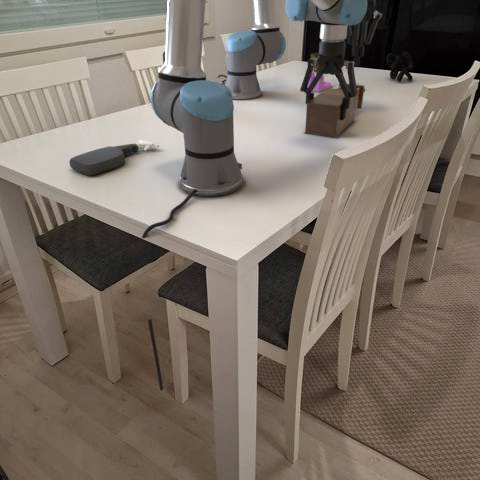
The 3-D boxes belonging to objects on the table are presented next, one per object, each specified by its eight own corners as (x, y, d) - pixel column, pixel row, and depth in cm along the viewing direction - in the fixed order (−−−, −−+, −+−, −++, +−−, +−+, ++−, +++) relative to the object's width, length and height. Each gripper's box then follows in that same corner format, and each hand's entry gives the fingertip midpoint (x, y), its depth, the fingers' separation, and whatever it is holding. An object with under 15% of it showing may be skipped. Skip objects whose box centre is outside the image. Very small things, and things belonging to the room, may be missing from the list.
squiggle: (400, 92, 202) (376, 71, 205) (417, 76, 202) (392, 56, 205) (405, 81, 191) (380, 59, 194) (423, 64, 191) (397, 42, 194)
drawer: (342, 100, 167) (345, 79, 163) (366, 103, 164) (369, 81, 159) (321, 118, 150) (323, 95, 146) (346, 122, 146) (349, 98, 142)
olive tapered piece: (307, 71, 218) (308, 54, 214) (312, 68, 224) (313, 51, 220) (322, 73, 215) (323, 55, 211) (326, 70, 221) (328, 52, 217)
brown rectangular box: (325, 116, 155) (327, 87, 150) (353, 120, 151) (357, 90, 146) (305, 133, 141) (306, 102, 136) (335, 137, 137) (338, 106, 132)
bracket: (318, 92, 184) (319, 74, 181) (306, 90, 187) (307, 72, 184) (333, 85, 193) (334, 68, 189) (321, 84, 196) (322, 67, 192)
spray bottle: (67, 168, 120) (139, 144, 136) (91, 178, 114) (163, 151, 130) (65, 157, 118) (137, 134, 134) (89, 167, 112) (162, 142, 128)
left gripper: (375, 40, 126) (365, 118, 138) (301, 36, 136) (297, 109, 147) (368, 44, 121) (358, 125, 133) (291, 39, 130) (288, 115, 142)
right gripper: (388, -12, 143) (377, 65, 156) (348, -12, 149) (341, 62, 161) (382, -11, 138) (372, 69, 150) (341, -11, 143) (334, 66, 156)
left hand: (326, 116), depth 140 cm, fingers closed on brown rectangular box, 10 cm apart
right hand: (356, 66), depth 156 cm, fingers closed
